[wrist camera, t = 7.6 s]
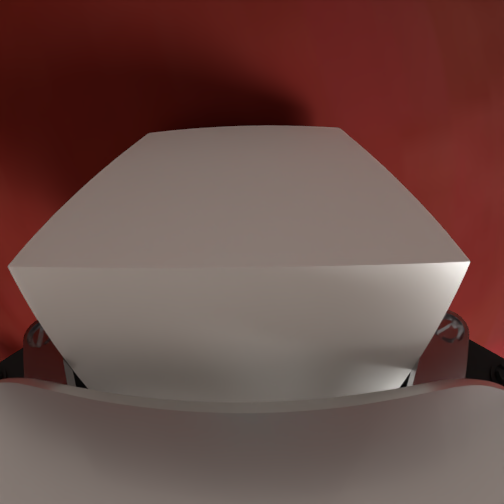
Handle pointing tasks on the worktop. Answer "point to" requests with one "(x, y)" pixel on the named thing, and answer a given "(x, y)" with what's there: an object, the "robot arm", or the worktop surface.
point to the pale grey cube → (241, 269)
